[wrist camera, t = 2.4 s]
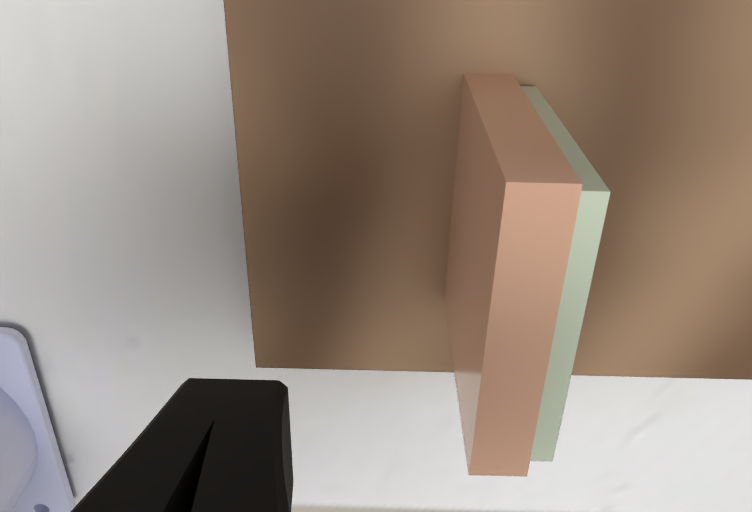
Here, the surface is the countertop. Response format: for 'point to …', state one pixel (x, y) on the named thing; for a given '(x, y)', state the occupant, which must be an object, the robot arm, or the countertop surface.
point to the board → (438, 163)
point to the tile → (517, 270)
